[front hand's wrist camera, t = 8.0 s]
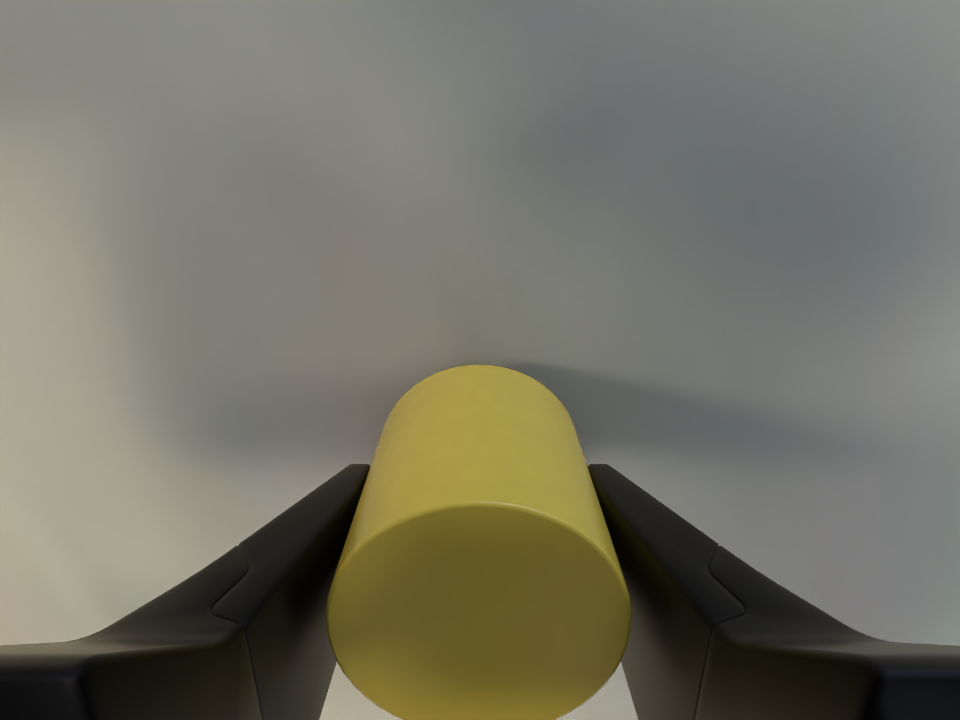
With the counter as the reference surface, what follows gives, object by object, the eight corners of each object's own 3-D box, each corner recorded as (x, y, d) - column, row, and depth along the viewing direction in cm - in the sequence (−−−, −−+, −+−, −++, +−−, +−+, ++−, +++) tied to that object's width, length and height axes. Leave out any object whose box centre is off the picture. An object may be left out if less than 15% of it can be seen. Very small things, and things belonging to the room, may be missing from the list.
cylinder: (518, 325, 11) (542, 447, 7) (611, 485, 13) (681, 671, 8) (340, 423, 12) (260, 588, 8) (446, 562, 14) (430, 771, 9)
